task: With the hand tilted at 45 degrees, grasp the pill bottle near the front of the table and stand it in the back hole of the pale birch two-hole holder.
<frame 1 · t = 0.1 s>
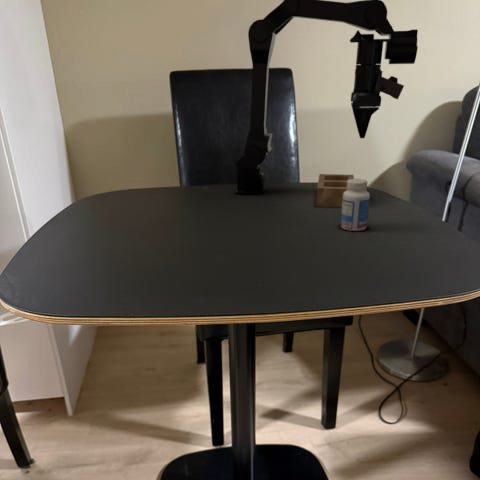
hand: (361, 135, 119), 15 cm above the table, tool pointing down, fingers open, 9 cm apart
holder: (334, 198, 123), on the table
pill bottle: (353, 228, 102), on the table
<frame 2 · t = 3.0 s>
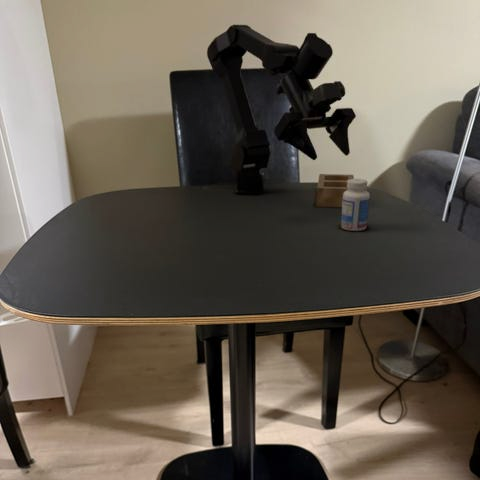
hand: (332, 156, 101), 13 cm above the table, tool tilted 45°, fingers open, 9 cm apart
nothing on the table moved.
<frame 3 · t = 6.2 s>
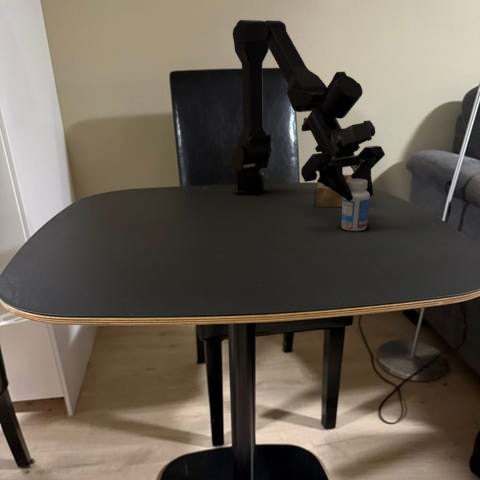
hand: (361, 197, 97), 7 cm above the table, tool tilted 45°, fingers closed on pill bottle, 5 cm apart
pill bottle: (353, 228, 102), on the table, touching gripper
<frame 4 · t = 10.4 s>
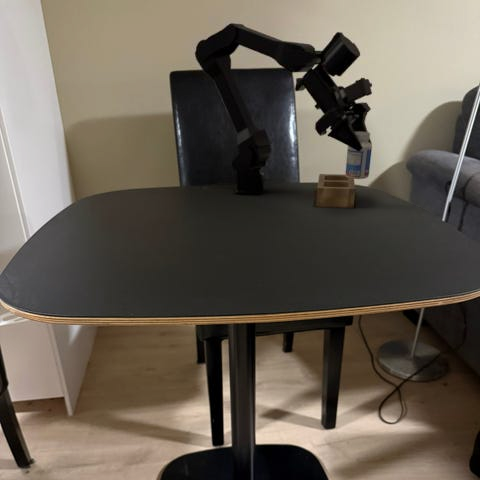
hand: (365, 148, 109), 14 cm above the table, tool tilted 45°, fingers closed on pill bottle, 5 cm apart
pill bottle: (356, 177, 113), point 7 cm above the table, touching gripper
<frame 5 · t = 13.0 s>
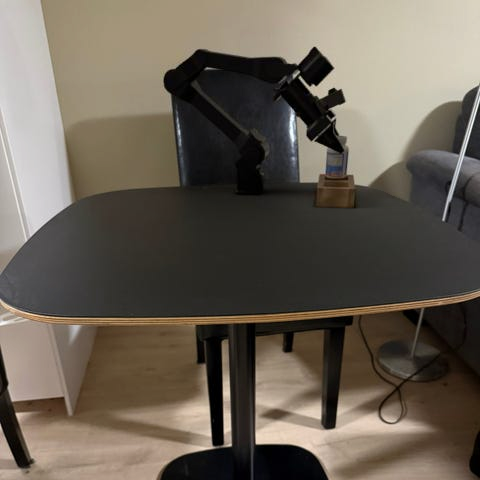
hand: (343, 150, 120), 11 cm above the table, tool tilted 45°, fingers closed on pill bottle, 5 cm apart
pill bottle: (335, 177, 124), point 5 cm above the table, touching gripper
when the fingers open (7 cm above the table, at t = 14.8 s): pill bottle stays where it is, resting in holder.
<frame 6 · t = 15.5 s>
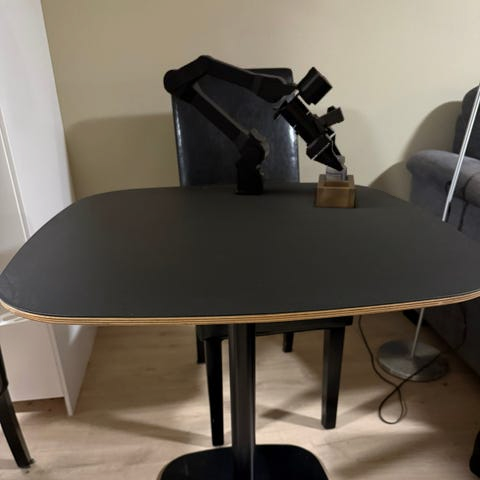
hand: (342, 166, 122), 7 cm above the table, tool tilted 45°, fingers open, 9 cm apart
pill bottle: (334, 196, 126), resting in holder
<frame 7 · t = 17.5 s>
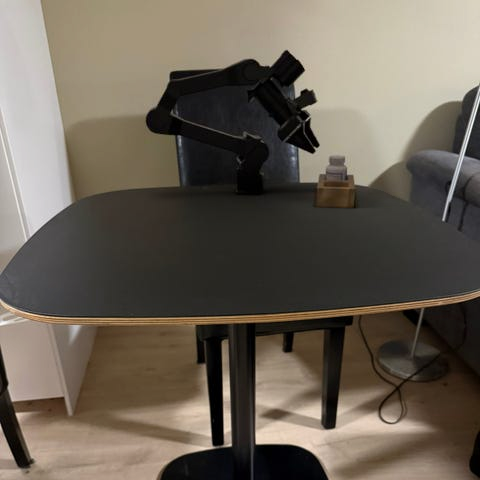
hand: (316, 149, 123), 11 cm above the table, tool tilted 45°, fingers open, 9 cm apart
nothing on the table moved.
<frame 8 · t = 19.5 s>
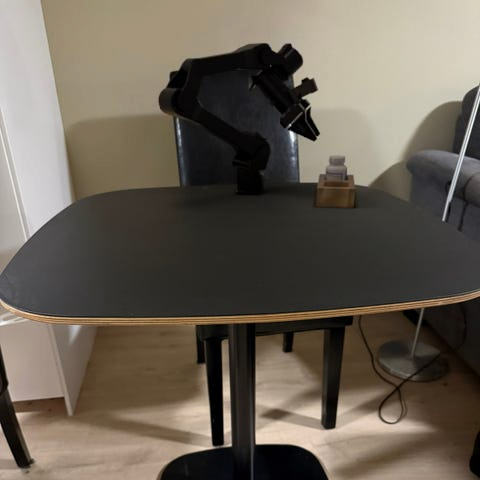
hand: (317, 137, 125), 14 cm above the table, tool tilted 45°, fingers open, 9 cm apart
nothing on the table moved.
at the end: pill bottle 0.1 cm from the target spot in the holder, point 0.0 cm above the holder's base; pill bottle tilted 0°; the gripper is holding nothing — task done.
